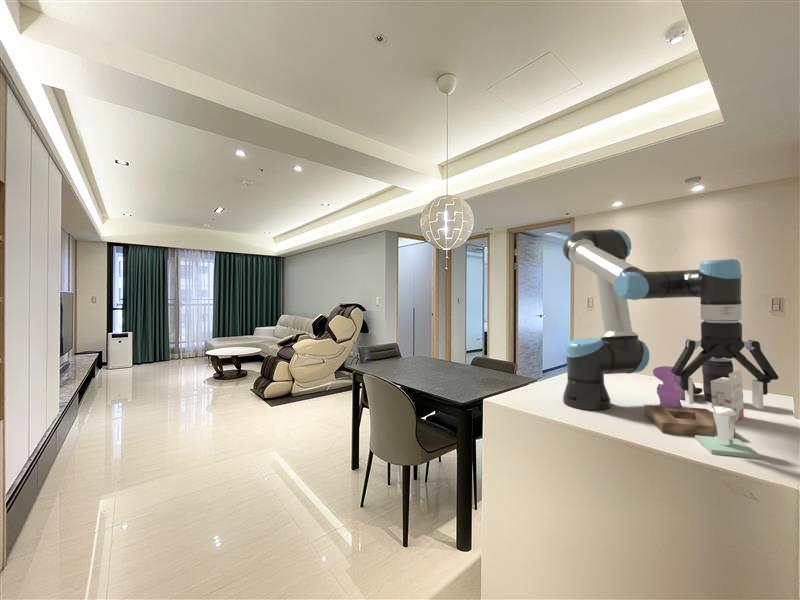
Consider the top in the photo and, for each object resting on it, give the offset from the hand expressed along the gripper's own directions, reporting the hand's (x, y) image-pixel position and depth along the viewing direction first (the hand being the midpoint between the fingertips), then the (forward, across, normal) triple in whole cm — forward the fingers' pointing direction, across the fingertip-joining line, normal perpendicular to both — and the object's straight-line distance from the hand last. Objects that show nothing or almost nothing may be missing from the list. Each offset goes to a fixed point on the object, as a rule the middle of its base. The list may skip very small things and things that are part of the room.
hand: (722, 405), depth 86 cm
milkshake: (+10, 0, 0) cm, 10 cm away
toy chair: (+11, -2, +30) cm, 32 cm away
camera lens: (+12, +16, +42) cm, 47 cm away
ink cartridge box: (+11, +11, +24) cm, 29 cm away
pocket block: (+11, -3, +14) cm, 18 cm away
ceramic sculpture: (+12, +8, +48) cm, 50 cm away
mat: (+11, 0, 0) cm, 11 cm away
